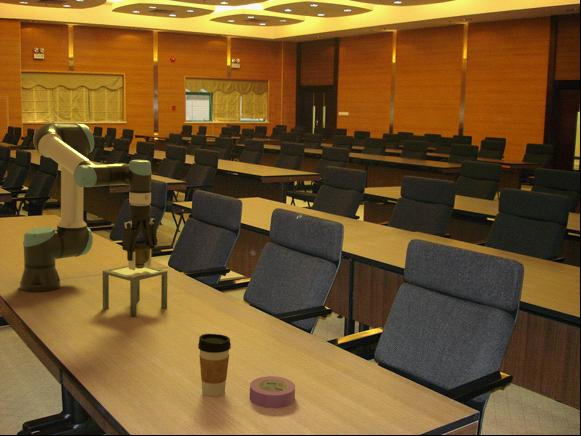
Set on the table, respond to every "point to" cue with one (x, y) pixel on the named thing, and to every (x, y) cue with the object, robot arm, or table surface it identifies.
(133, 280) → the trapdoor frame
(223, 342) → the coffee cup
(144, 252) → the dark piece
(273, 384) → the masking tape
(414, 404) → the table surface
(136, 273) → the trapdoor
